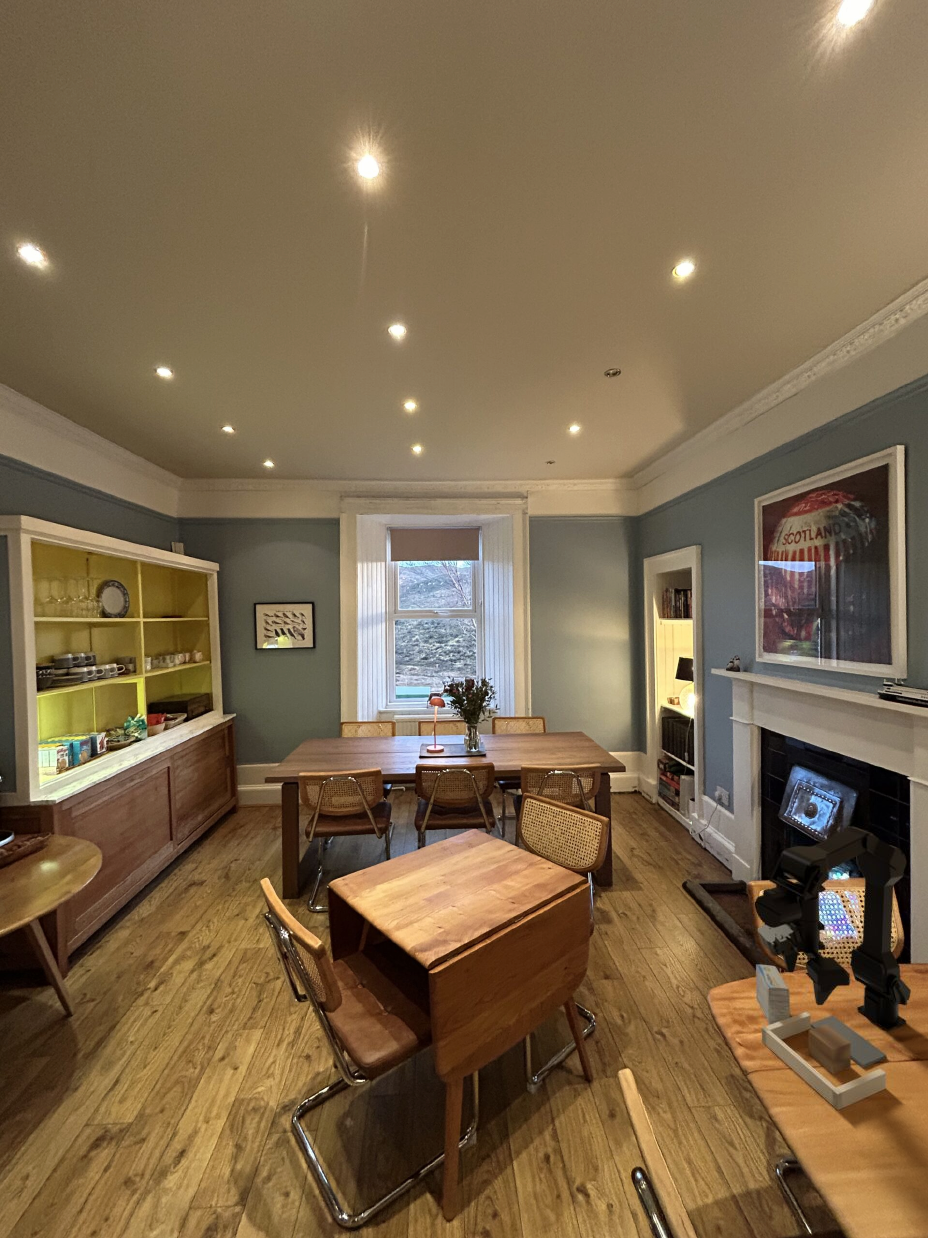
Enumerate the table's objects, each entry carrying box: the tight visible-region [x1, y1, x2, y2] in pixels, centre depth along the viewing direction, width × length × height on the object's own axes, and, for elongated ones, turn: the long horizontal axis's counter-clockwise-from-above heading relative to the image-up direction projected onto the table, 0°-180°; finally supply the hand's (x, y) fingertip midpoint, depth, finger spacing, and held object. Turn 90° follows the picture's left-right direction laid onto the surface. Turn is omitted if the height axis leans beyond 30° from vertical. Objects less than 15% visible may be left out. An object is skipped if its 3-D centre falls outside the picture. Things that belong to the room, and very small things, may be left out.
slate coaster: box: [811, 1014, 887, 1069], centre depth 109 cm, size 7×11×1 cm, turn 19°
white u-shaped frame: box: [761, 1011, 887, 1111], centre depth 104 cm, size 13×16×3 cm
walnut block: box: [808, 1024, 852, 1075], centre depth 104 cm, size 5×5×5 cm
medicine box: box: [755, 964, 791, 1025], centre depth 117 cm, size 8×4×9 cm, turn 168°
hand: (804, 987), depth 106 cm, fingers open, 9 cm apart
